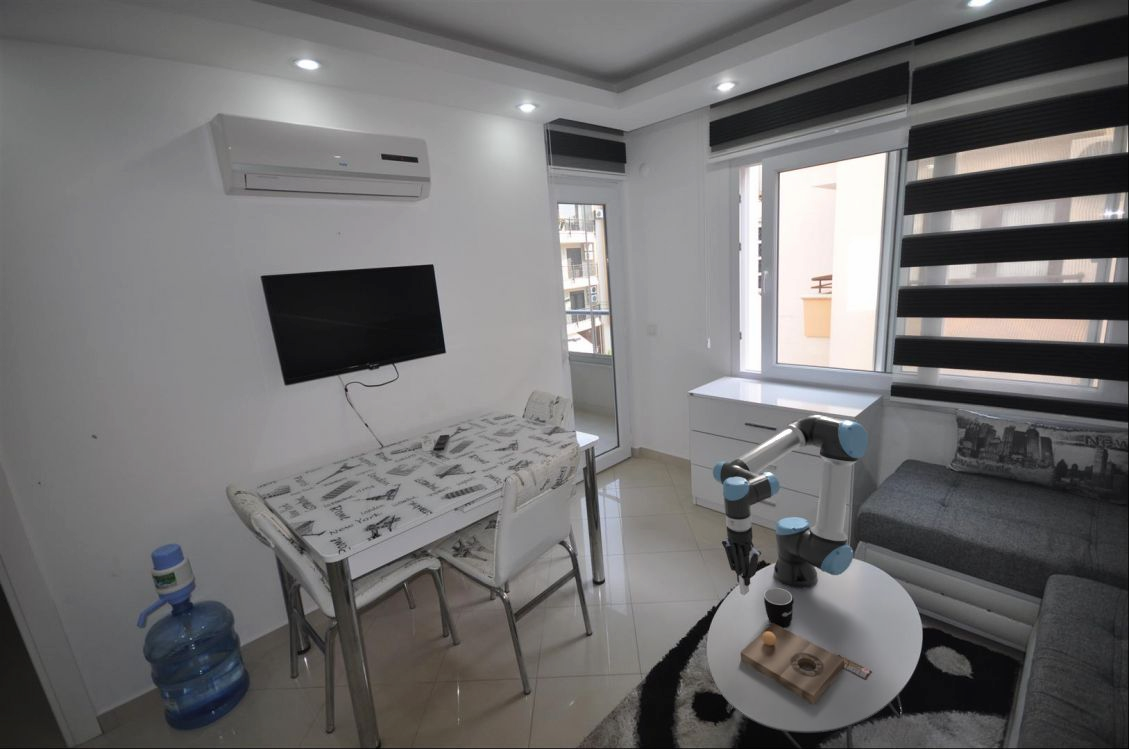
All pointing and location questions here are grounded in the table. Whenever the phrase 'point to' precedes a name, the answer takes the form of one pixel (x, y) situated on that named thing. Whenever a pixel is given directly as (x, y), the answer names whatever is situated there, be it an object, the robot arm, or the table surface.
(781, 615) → the mug
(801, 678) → the wooden board
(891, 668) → the table surface
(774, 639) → the ball
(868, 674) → the chocolate bar
